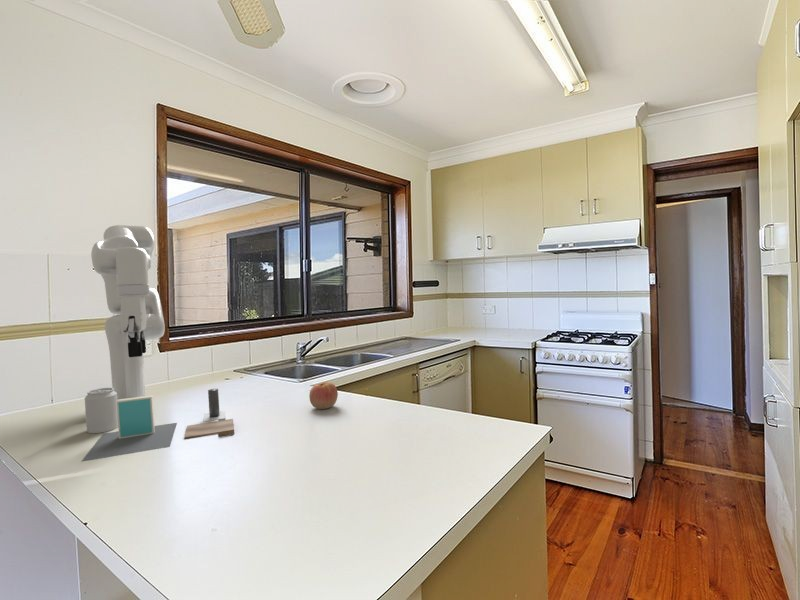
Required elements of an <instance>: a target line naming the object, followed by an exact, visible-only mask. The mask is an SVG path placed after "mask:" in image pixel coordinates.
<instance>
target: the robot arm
mask: <svg viewBox="0 0 800 600" xmlns="http://www.w3.org/2000/svg"><path fill="white" fill-rule="evenodd" d="M154 247H155V236H154V233H153V232H152V230H151V229H150V228H149V227H147V226H144V225H143V226H142V225H122V224H117V225H112V226H109V227H107V228H106V229H105V230H104V232H103V239H101V240H99V241H97V242H95V243H94V244H93V246H92V247H91V248H92V249H91V253H90V254H91V263H92V267H93V269H94V271H95V272H96V273H97V274H99V275H100V276H101V277H102V279H103V282H104V286H105V287H104V290H105V298H106V304H107V309H108V311H109V312H110V313H111V314H113V315H112V316H110V317H108V318H107V319H106V320H105V322H104V331H105V332H104V333H105V335H106V336H105V337H106V339H107V340H106V341H107V344H108V351H109V363H110V376H111V388H114V390H113V391H115V392H116V393H117V400H118V399H126V398H134V397H142V396H147V394H146V393H147V392H146V378H145V377H146V376H145V366H144V365H145V363H144V354H145V353H146V352H147V347H146V346H147V345H146V344H147V343H146V341H151V340H157V339H161V338H162V337H164V335H165V332H166V325H165V318H164V312H163V307H162V303H161V302H162V301H161V297H160V295H159V292H158V290H157V289H155V288H153V287H151V286H149V274H148V271H149V269H151V266H152V265H151V264H152V263H151V262H152V261H151V258H152V254H153V251H154Z"/></svg>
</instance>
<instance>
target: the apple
mask: <svg viewBox="0 0 800 600" xmlns="http://www.w3.org/2000/svg"><path fill="white" fill-rule="evenodd" d="M338 393H339V392H338V389H337V386H336V385H335V384H334V383H333V382H330V381H325V382H319V383H316V384H314V385H313V386H312V387H311V389H310V390H309V395H308V396H309V401H310V404H311V406H312V407H313V408H315V409H317V410H325V409H330V408H332V407H333V406H335V404H336V403H337V400H338V395H339V394H338Z"/></svg>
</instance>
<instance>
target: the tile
mask: <svg viewBox="0 0 800 600" xmlns="http://www.w3.org/2000/svg"><path fill="white" fill-rule="evenodd" d="M154 409H155V408H154V396H153V395H146V396H142V397H134V398H126V399H118V400H117V415H118V427H117V429H118V430H117V431H119V439H121V438H127V437H134V436H140V435H147V434H153V433H154V432H155V426H156V423H155V412H154V411H155V410H154Z"/></svg>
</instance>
